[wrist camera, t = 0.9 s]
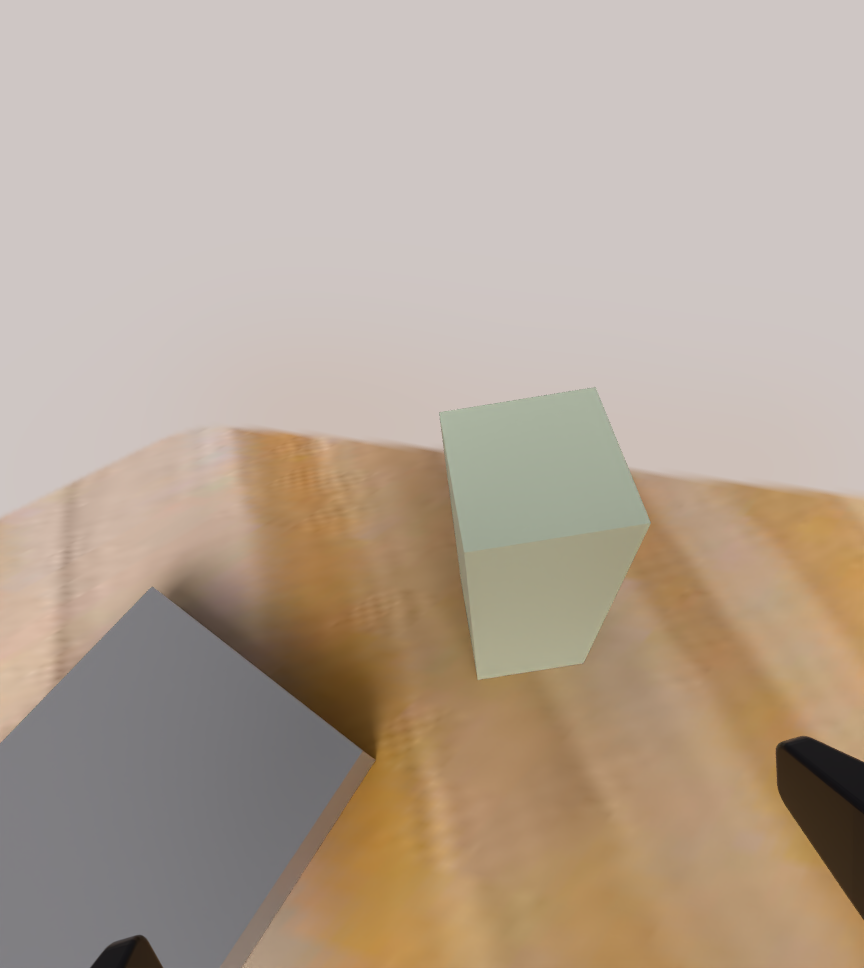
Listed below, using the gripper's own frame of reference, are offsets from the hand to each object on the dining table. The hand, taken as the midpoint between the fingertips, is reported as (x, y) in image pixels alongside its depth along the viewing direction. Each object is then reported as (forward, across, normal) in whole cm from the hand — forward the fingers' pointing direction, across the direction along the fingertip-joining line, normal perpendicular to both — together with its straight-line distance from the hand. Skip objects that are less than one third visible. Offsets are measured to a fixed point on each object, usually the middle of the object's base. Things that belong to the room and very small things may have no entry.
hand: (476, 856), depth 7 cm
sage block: (+15, -4, +7) cm, 17 cm away
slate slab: (+12, +12, +9) cm, 19 cm away
